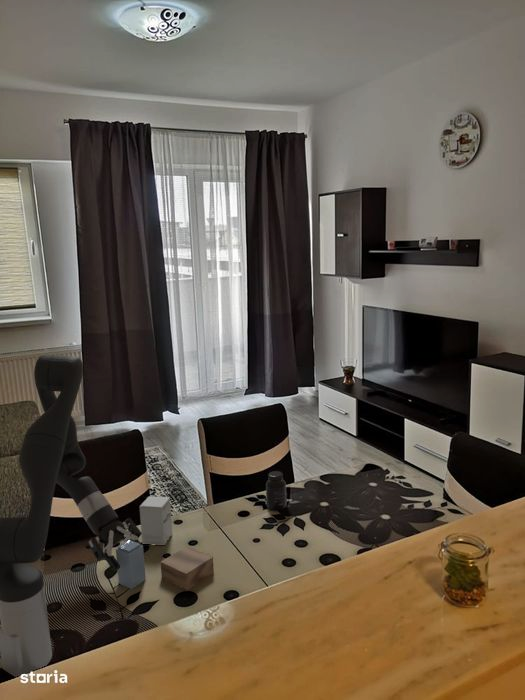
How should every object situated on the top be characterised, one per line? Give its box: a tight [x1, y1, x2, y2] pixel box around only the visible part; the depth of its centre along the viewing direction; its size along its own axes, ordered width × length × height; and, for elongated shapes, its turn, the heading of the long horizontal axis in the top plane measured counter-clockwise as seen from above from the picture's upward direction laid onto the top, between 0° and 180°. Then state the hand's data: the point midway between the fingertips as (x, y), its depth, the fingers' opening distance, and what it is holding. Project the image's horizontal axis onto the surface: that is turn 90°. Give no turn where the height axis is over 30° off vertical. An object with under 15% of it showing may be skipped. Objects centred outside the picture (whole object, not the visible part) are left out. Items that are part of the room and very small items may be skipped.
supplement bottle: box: [265, 470, 288, 512], centre depth 192 cm, size 7×7×12 cm
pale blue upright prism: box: [115, 540, 147, 590], centre depth 151 cm, size 5×5×11 cm
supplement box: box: [139, 495, 173, 545], centre depth 172 cm, size 7×7×13 cm
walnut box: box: [160, 545, 215, 591], centre depth 153 cm, size 10×10×5 cm
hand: (130, 561), depth 151 cm, fingers open, 8 cm apart
